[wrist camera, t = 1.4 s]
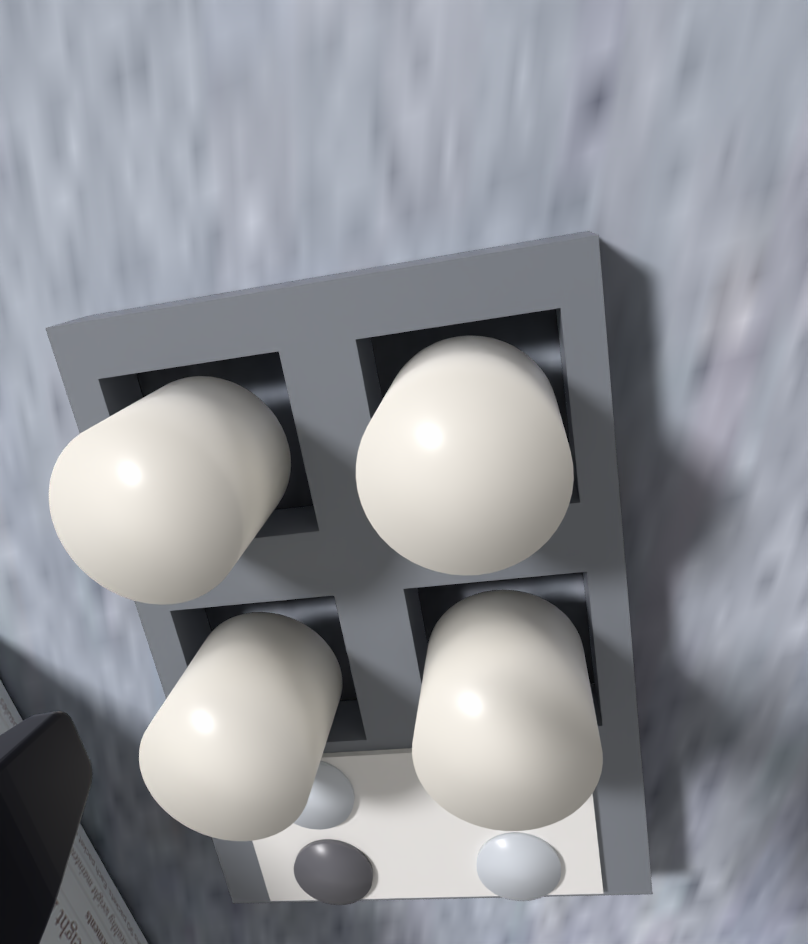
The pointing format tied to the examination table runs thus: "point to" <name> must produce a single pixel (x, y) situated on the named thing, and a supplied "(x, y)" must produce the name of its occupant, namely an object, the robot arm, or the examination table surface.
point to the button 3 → (466, 458)
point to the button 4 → (506, 714)
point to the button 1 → (170, 489)
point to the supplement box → (82, 886)
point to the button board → (397, 571)
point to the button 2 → (244, 728)
